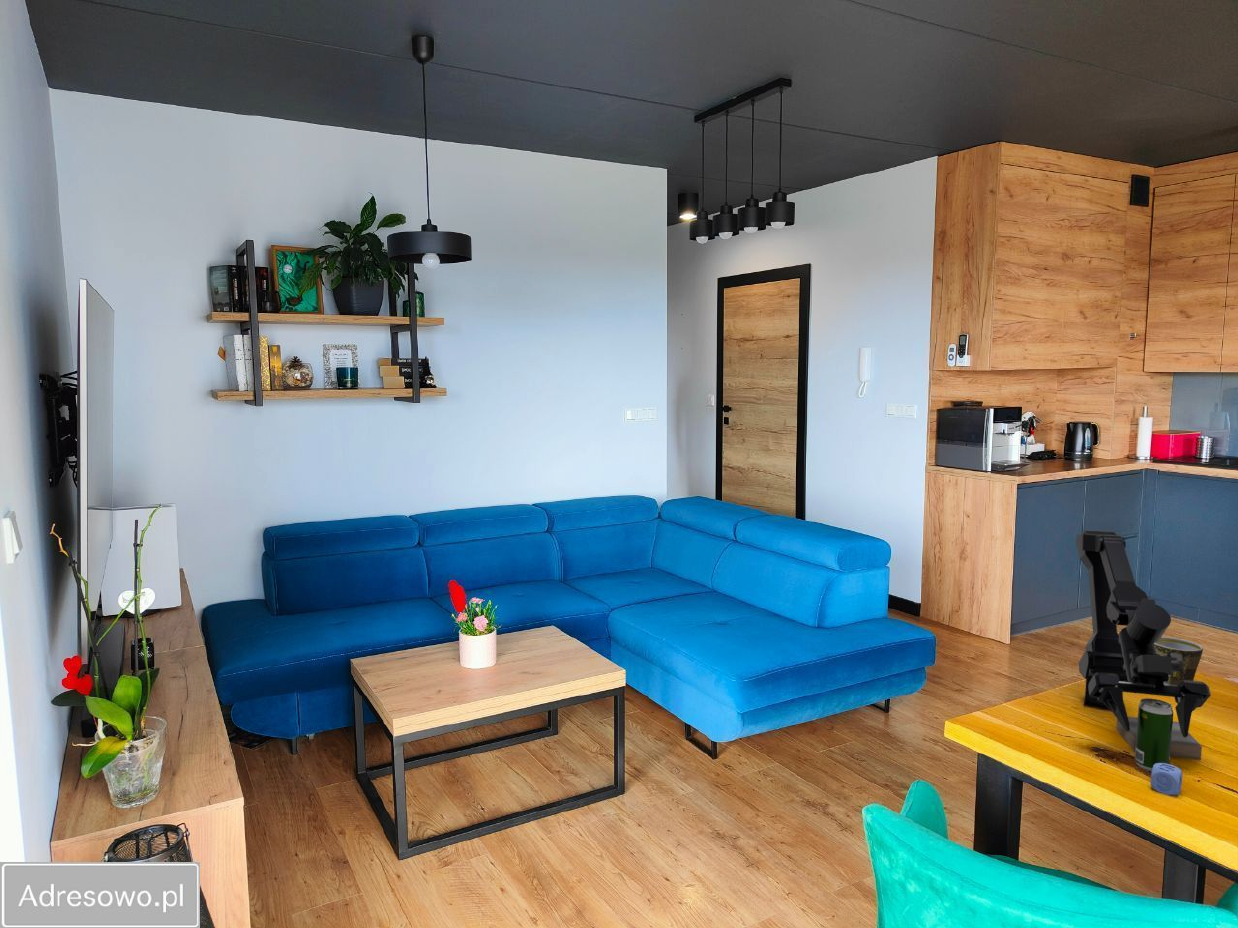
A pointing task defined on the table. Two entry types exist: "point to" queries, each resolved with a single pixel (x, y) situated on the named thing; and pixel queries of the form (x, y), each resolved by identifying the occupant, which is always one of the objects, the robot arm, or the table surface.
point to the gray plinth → (1178, 743)
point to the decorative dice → (1166, 779)
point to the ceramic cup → (1189, 656)
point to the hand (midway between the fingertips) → (1156, 733)
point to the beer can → (1153, 733)
